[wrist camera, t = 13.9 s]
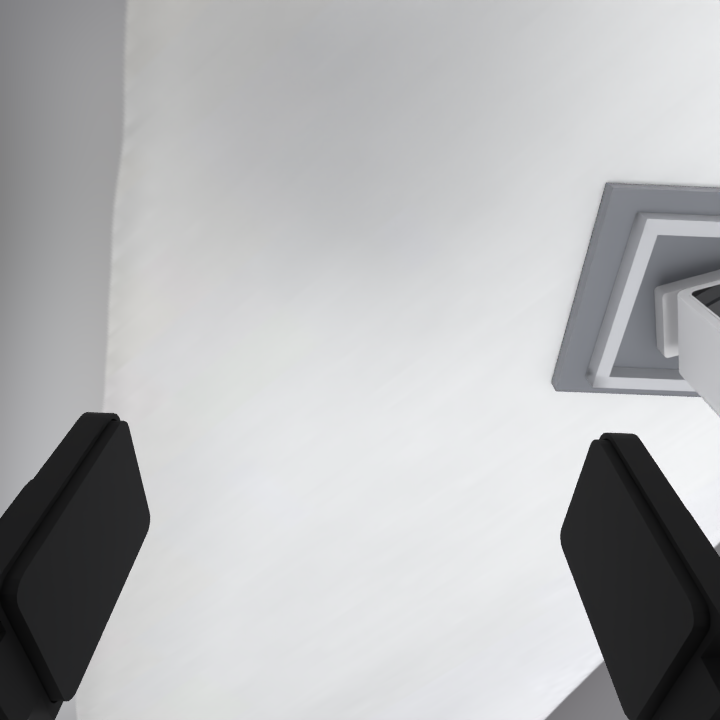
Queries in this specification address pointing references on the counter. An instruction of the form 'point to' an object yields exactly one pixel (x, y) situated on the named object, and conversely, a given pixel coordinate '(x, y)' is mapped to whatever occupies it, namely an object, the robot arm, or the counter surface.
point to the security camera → (692, 331)
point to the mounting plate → (635, 288)
